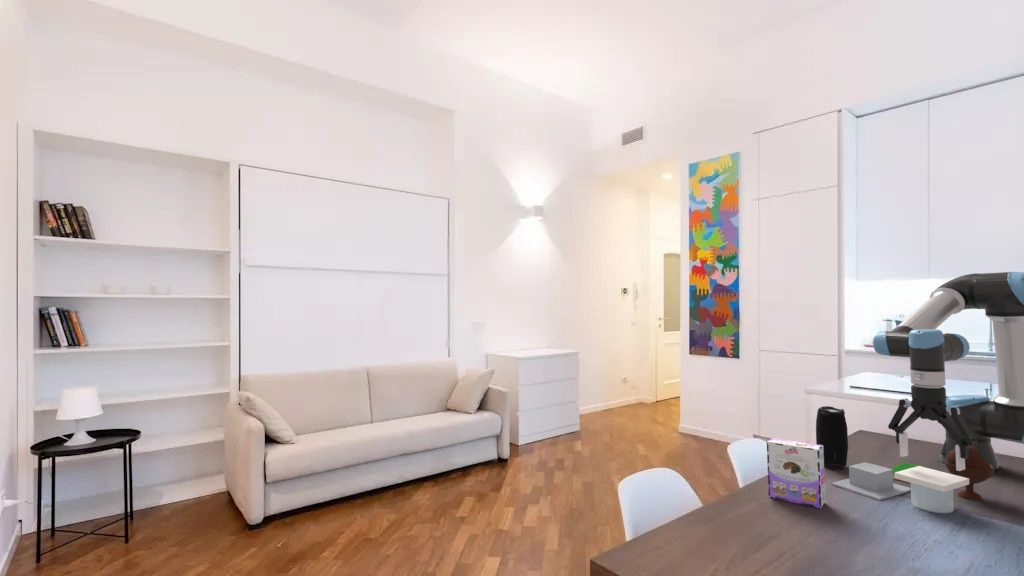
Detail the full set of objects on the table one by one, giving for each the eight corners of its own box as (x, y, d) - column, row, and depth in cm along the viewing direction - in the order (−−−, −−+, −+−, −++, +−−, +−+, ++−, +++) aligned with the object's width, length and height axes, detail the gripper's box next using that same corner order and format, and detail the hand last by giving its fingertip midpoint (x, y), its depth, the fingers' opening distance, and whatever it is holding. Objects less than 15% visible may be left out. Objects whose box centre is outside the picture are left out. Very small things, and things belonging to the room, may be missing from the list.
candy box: (826, 503, 148) (824, 444, 148) (821, 509, 143) (819, 449, 144) (773, 491, 157) (772, 436, 157) (767, 497, 153) (766, 440, 153)
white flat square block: (919, 471, 152) (919, 465, 152) (969, 484, 141) (969, 478, 141) (894, 477, 147) (894, 472, 147) (944, 492, 136) (944, 486, 136)
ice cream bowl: (1005, 505, 144) (1003, 450, 144) (959, 502, 146) (957, 448, 146) (979, 490, 154) (977, 439, 154) (936, 488, 156) (934, 438, 157)
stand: (864, 476, 168) (863, 457, 168) (912, 490, 155) (911, 470, 155) (831, 484, 161) (831, 465, 161) (879, 500, 149) (878, 479, 149)
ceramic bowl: (922, 498, 150) (922, 473, 150) (960, 509, 142) (959, 483, 142) (904, 503, 146) (903, 478, 146) (941, 515, 138) (940, 489, 138)
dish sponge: (930, 475, 169) (929, 467, 169) (913, 484, 161) (913, 476, 161) (904, 469, 175) (903, 462, 175) (886, 478, 167) (886, 470, 167)
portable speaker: (820, 460, 185) (818, 404, 185) (851, 465, 178) (849, 408, 179) (813, 466, 178) (812, 408, 179) (845, 472, 172) (844, 412, 172)
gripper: (872, 380, 154) (875, 452, 154) (976, 394, 131) (979, 479, 131) (887, 378, 157) (890, 448, 157) (991, 391, 134) (995, 473, 134)
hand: (931, 462), depth 144 cm, fingers open, 13 cm apart
